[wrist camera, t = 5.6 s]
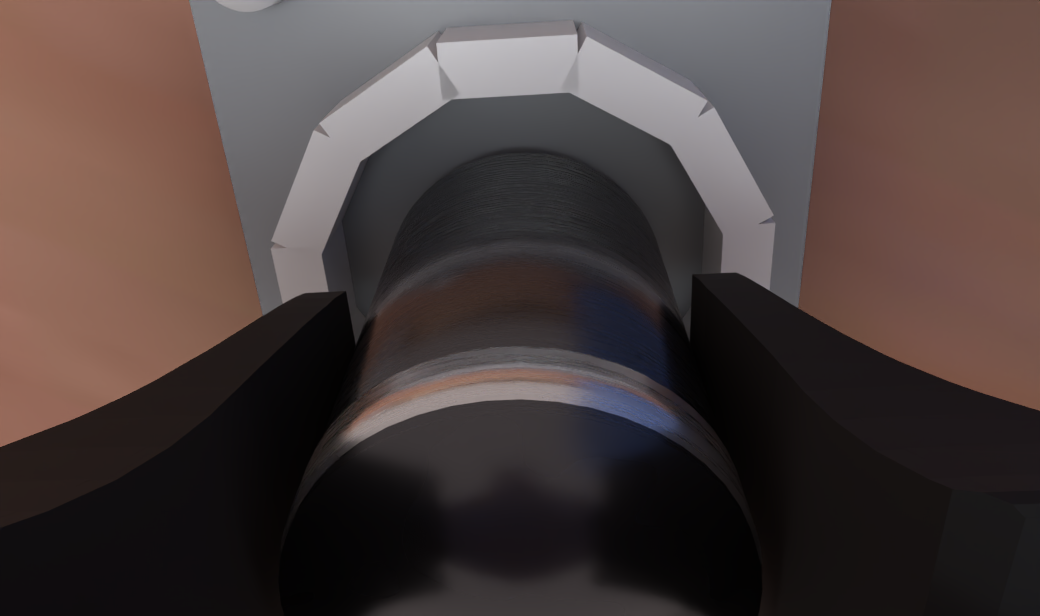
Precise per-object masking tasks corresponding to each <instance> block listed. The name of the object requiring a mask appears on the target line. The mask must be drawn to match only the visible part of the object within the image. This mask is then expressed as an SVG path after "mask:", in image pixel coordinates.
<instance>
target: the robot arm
mask: <svg viewBox="0 0 1040 616" xmlns="http://www.w3.org/2000/svg"><path fill="white" fill-rule="evenodd" d="M690 345H691V348H692V351H693V354H694V357H695V360H696V363H697V366H698V369H699V372H700V375H701V378H702V382H703V385H704V388H705V391H706V394H707V397H708V400H709V403H710V406H711V409H712V412H713V415H714V418H715V421H716V425H717V428H718V431H719V434H720V437H721V440H722V443H723V444H724V446H725V447H726V449H727V451H728V453H729V455H730V457H731V460H732V462H733V464H734V466H735V468H736V470H737V473H738V476H739V479H740V482H741V485H742V488H743V491H744V494H745V497H746V500H747V503H748V506H749V509H750V512H751V515H752V518H753V521H754V524H755V527H756V531H757V535H758V539H759V543H760V547H761V555H762V571H763V573H762V596H761V605H760V611H759V614H758V616H1040V411H1038V410H1035V409H1031V408H1028V407H1025V406H1022V405H1018V404H1015V403H1012V402H1009V401H1005V400H1002V399H999V398H996V397H993V396H989V395H986V394H983V393H980V392H977V391H974V390H971V389H968V388H965V387H962V386H960V385H957V384H954V383H951V382H948V381H946V380H944V379H941V378H939V377H936V376H934V375H931V374H929V373H926V372H924V371H921V370H919V369H916V368H914V367H911V366H909V365H906V364H904V363H902V362H899V361H897V360H895V359H893V358H890V357H888V356H886V355H884V354H882V353H880V352H878V351H876V350H874V349H872V348H870V347H868V346H866V345H864V344H862V343H860V342H858V341H856V340H854V339H852V338H850V337H848V336H846V335H844V334H842V333H841V332H839V331H837V330H835V329H833V328H831V327H830V326H828V325H826V324H824V323H823V322H821V321H819V320H817V319H816V318H814V317H812V316H810V315H809V314H807V313H805V312H804V311H802V310H800V309H799V308H797V307H795V306H794V305H792V304H790V303H789V302H787V301H786V300H784V299H782V298H781V297H779V296H777V295H776V294H774V293H772V292H771V291H769V290H768V289H766V288H764V287H763V286H761V285H759V284H758V283H756V282H754V281H753V280H751V279H749V278H747V277H745V276H743V275H741V274H739V273H736V272H733V273H712V274H692V296H691V321H690ZM355 347H356V344H355V338H354V333H353V327H352V321H351V316H350V310H349V305H348V299H347V293H346V291H336V292H315V293H304V294H301V295H299V296H296V297H294V298H292V299H290V300H289V301H287V302H285V303H283V304H282V305H280V306H278V307H277V308H275V309H273V310H272V311H270V312H268V313H267V314H265V315H264V316H262V317H260V318H259V319H257V320H256V321H254V322H253V323H251V324H249V325H248V326H246V327H245V328H243V329H241V330H240V331H238V332H237V333H235V334H233V335H232V336H230V337H229V338H227V339H225V340H224V341H222V342H221V343H219V344H218V345H216V346H214V347H213V348H211V349H209V350H208V351H206V352H204V353H202V354H201V355H199V356H197V357H195V358H194V359H192V360H190V361H188V362H187V363H185V364H183V365H181V366H180V367H178V368H176V369H175V370H173V371H171V372H169V373H168V374H166V375H164V376H162V377H161V378H159V379H157V380H155V381H153V382H151V383H150V384H148V385H146V386H144V387H142V388H140V389H138V390H136V391H134V392H132V393H130V394H128V395H126V396H124V397H122V398H120V399H117V400H115V401H113V402H111V403H109V404H107V405H104V406H102V407H100V408H98V409H96V410H94V411H91V412H89V413H87V414H85V415H82V416H80V417H78V418H75V419H73V420H71V421H68V422H65V423H63V424H60V425H57V426H55V427H52V428H50V429H47V430H44V431H42V432H39V433H36V434H34V435H31V436H29V437H26V438H23V439H21V440H18V441H15V442H13V443H10V444H8V445H5V446H2V447H0V616H284V613H283V609H282V606H281V601H280V592H279V583H278V579H279V556H280V543H281V539H282V535H283V532H284V528H285V524H286V521H287V518H288V515H289V512H290V510H291V507H292V504H293V502H294V499H295V496H296V494H297V491H298V488H299V486H300V483H301V480H302V478H303V475H304V472H305V470H306V467H307V464H308V462H309V460H310V458H311V456H312V454H313V452H314V450H315V448H316V445H317V444H318V442H319V441H320V439H321V438H322V436H323V434H324V432H325V429H326V426H327V423H328V421H329V418H330V415H331V412H332V410H333V407H334V404H335V401H336V399H337V396H338V393H339V391H340V388H341V385H342V382H343V380H344V377H345V374H346V371H347V369H348V366H349V363H350V360H351V358H352V355H353V352H354V349H355Z"/></svg>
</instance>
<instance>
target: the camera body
mask: <svg viewBox="0 0 1040 616" xmlns="http://www.w3.org/2000/svg"><path fill="white" fill-rule="evenodd" d="M189 2H190V6H191V10H192V15H193V19H194V23H195V27H196V32H197V36H198V40H199V44H200V49H201V53H202V57H203V62H204V66H205V70H206V74H207V79H208V83H209V87H210V91H211V96H212V100H213V104H214V109H215V113H216V117H217V121H218V126H219V130H220V134H221V138H222V143H223V147H224V151H225V156H226V160H227V164H228V168H229V173H230V177H231V181H232V185H233V190H234V194H235V198H236V203H237V207H238V211H239V215H240V220H241V224H242V228H243V232H244V237H245V241H246V245H247V249H248V254H249V258H250V262H251V267H252V271H253V275H254V279H255V284H256V288H257V292H258V296H259V301H260V305H261V309H262V314H263V316H264V315H265V314H267V313H268V312H270V311H272V310H273V309H275V308H277V307H278V306H280V305H282V304H283V303H285V302H287V301H289V300H290V299H292V298H294V297H296V296H299V295H301V294H304V293H315V292H336V291H346V293H347V299H348V305H349V310H350V316H351V321H352V327H353V333H354V338H355V344H357V341H358V338H359V336H360V333H361V330H362V328H363V325H364V322H365V319H366V317H367V314H368V311H369V308H370V306H371V303H372V300H373V297H374V295H375V292H376V289H377V286H378V284H379V281H380V278H381V275H382V273H383V270H384V267H385V265H386V262H387V259H388V256H389V254H390V251H391V248H392V245H393V243H394V240H395V237H396V235H397V232H398V230H399V228H400V226H401V224H402V222H403V219H404V218H405V216H406V215H407V213H408V212H409V210H410V209H411V207H412V206H413V205H414V203H415V202H416V201H417V200H418V199H419V198H420V197H421V195H422V194H423V193H424V192H425V191H426V190H428V189H429V188H430V187H431V186H432V185H433V184H435V183H436V182H437V181H438V180H440V179H441V178H443V177H444V176H446V175H447V174H449V173H450V172H452V171H454V170H456V169H458V168H460V167H462V166H464V165H466V164H469V163H471V162H474V161H477V160H480V159H483V158H487V157H491V156H496V155H502V154H507V153H525V152H527V153H541V154H549V155H554V156H559V157H564V158H567V159H570V160H573V161H576V162H579V163H582V164H584V165H586V166H588V167H590V168H592V169H594V170H596V171H598V172H600V173H602V174H603V175H605V176H606V177H608V178H609V179H611V180H612V181H614V182H615V183H616V184H617V185H618V186H620V187H621V188H622V189H623V190H624V191H625V192H626V193H627V194H628V195H629V196H630V197H631V198H632V199H633V200H634V202H635V203H636V204H637V205H638V206H639V207H640V209H641V211H642V212H643V214H644V215H645V217H646V219H647V220H648V222H649V224H650V226H651V228H652V231H653V233H654V235H655V237H656V240H657V243H658V247H659V250H660V253H661V256H662V259H663V262H664V265H665V268H666V271H667V274H668V277H669V280H670V283H671V286H672V289H673V293H674V296H675V299H676V302H677V305H678V308H679V311H680V314H681V317H682V320H683V323H684V326H685V329H686V332H687V336H688V339H689V342H690V321H691V296H692V274H712V273H733V272H736V273H739V274H741V275H743V276H745V277H747V278H749V279H751V280H753V281H754V282H756V283H758V284H759V285H761V286H763V287H764V288H766V289H768V290H769V291H771V292H772V293H774V294H776V295H777V296H779V297H781V298H782V299H784V300H786V301H787V302H789V303H790V304H792V305H794V306H795V307H797V308H798V304H799V295H800V286H801V277H802V267H803V258H804V249H805V240H806V230H807V221H808V212H809V203H810V194H811V184H812V175H813V166H814V157H815V147H816V138H817V129H818V120H819V110H820V101H821V92H822V83H823V74H824V64H825V55H826V46H827V37H828V27H829V18H830V9H831V0H189Z"/></svg>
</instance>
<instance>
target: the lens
mask: <svg viewBox="0 0 1040 616" xmlns="http://www.w3.org/2000/svg"><path fill="white" fill-rule="evenodd" d="M762 573H763V571H762V555H761V547H760V543H759V539H758V535H757V531H756V527H755V524H754V521H753V518H752V515H751V512H750V509H749V506H748V503H747V500H746V497H745V494H744V491H743V488H742V485H741V482H740V479H739V476H738V473H737V470H736V468H735V466H734V464H733V462H732V460H731V457H730V455H729V453H728V451H727V449H726V447H725V446H724V444H723V443H722V440H721V437H720V434H719V431H718V428H717V425H716V421H715V418H714V415H713V412H712V409H711V406H710V403H709V400H708V397H707V394H706V391H705V388H704V385H703V382H702V378H701V375H700V372H699V369H698V366H697V363H696V360H695V357H694V354H693V351H692V348H691V345H690V342H689V339H688V336H687V332H686V329H685V326H684V323H683V320H682V317H681V314H680V311H679V308H678V305H677V302H676V299H675V296H674V293H673V289H672V286H671V283H670V280H669V277H668V274H667V271H666V268H665V265H664V262H663V259H662V256H661V253H660V250H659V247H658V243H657V240H656V237H655V235H654V233H653V231H652V228H651V226H650V224H649V222H648V220H647V219H646V217H645V215H644V214H643V212H642V211H641V209H640V207H639V206H638V205H637V204H636V203H635V202H634V200H633V199H632V198H631V197H630V196H629V195H628V194H627V193H626V192H625V191H624V190H623V189H622V188H621V187H620V186H618V185H617V184H616V183H615V182H614V181H612V180H611V179H609V178H608V177H606V176H605V175H603V174H602V173H600V172H598V171H596V170H594V169H592V168H590V167H588V166H586V165H584V164H582V163H579V162H576V161H573V160H570V159H567V158H564V157H559V156H554V155H549V154H541V153H527V152H525V153H507V154H502V155H496V156H491V157H487V158H483V159H480V160H477V161H474V162H471V163H469V164H466V165H464V166H462V167H460V168H458V169H456V170H454V171H452V172H450V173H449V174H447V175H446V176H444V177H443V178H441V179H440V180H438V181H437V182H436V183H435V184H433V185H432V186H431V187H430V188H429V189H428V190H426V191H425V192H424V193H423V194H422V195H421V197H420V198H419V199H418V200H417V201H416V202H415V203H414V205H413V206H412V207H411V209H410V210H409V212H408V213H407V215H406V216H405V218H404V219H403V222H402V224H401V226H400V228H399V230H398V232H397V235H396V237H395V240H394V243H393V245H392V248H391V251H390V254H389V256H388V259H387V262H386V265H385V267H384V270H383V273H382V275H381V278H380V281H379V284H378V286H377V289H376V292H375V295H374V297H373V300H372V303H371V306H370V308H369V311H368V314H367V317H366V319H365V322H364V325H363V328H362V330H361V333H360V336H359V338H358V341H357V344H356V347H355V349H354V352H353V355H352V358H351V360H350V363H349V366H348V369H347V371H346V374H345V377H344V380H343V382H342V385H341V388H340V391H339V393H338V396H337V399H336V401H335V404H334V407H333V410H332V412H331V415H330V418H329V421H328V423H327V426H326V429H325V432H324V434H323V436H322V438H321V439H320V441H319V442H318V444H317V445H316V448H315V450H314V452H313V454H312V456H311V458H310V460H309V462H308V464H307V467H306V470H305V472H304V475H303V478H302V480H301V483H300V486H299V488H298V491H297V494H296V496H295V499H294V502H293V504H292V507H291V510H290V512H289V515H288V518H287V521H286V524H285V528H284V532H283V535H282V539H281V543H280V556H279V579H278V583H279V592H280V601H281V606H282V609H283V613H284V616H758V614H759V611H760V605H761V596H762Z"/></svg>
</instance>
